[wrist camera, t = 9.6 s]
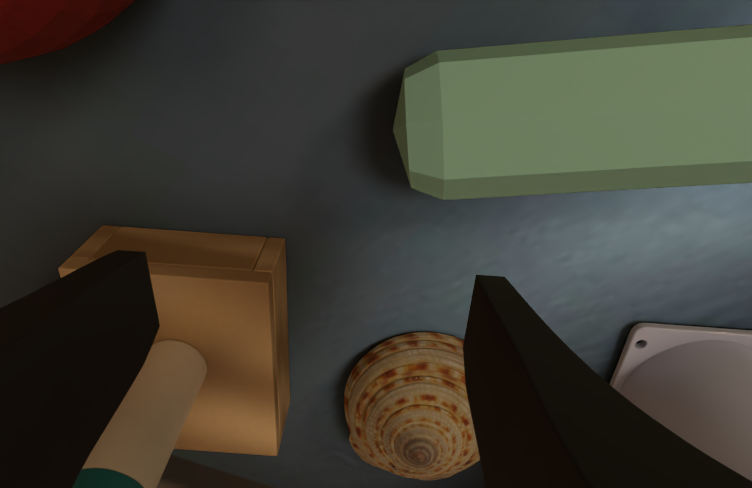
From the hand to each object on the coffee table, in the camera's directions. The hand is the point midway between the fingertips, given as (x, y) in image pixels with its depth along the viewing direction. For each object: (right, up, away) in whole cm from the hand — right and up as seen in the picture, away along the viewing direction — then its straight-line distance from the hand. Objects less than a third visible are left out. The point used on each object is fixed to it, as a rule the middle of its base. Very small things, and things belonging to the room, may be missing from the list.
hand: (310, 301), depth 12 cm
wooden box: (-7, -3, +14) cm, 15 cm away
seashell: (+4, -7, +16) cm, 18 cm away
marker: (-7, -4, +10) cm, 13 cm away
